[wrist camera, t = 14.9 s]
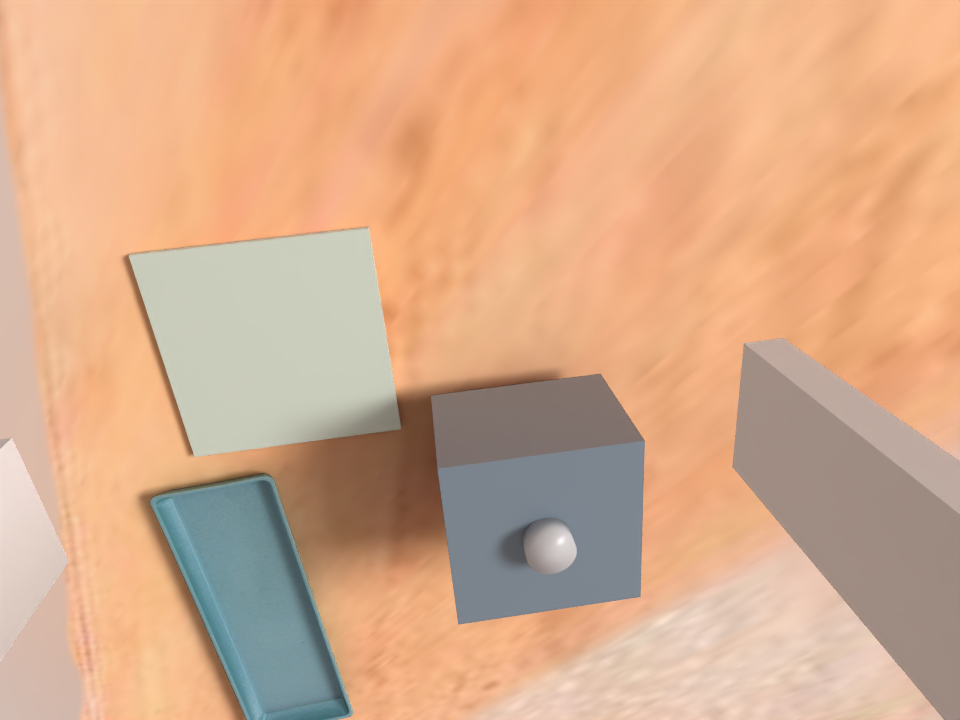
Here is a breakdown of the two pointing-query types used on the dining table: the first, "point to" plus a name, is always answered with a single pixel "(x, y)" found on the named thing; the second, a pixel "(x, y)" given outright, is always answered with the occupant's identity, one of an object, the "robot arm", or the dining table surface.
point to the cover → (539, 496)
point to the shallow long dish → (254, 598)
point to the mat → (272, 339)
